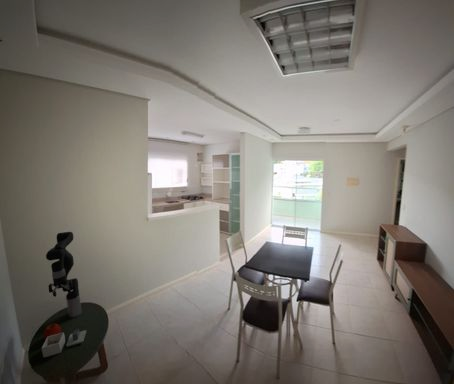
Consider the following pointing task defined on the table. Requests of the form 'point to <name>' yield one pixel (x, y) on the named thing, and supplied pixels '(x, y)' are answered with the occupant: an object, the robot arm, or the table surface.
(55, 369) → the table surface
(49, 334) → the apple
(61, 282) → the robot arm
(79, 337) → the lid
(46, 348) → the storage box
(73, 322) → the table surface
